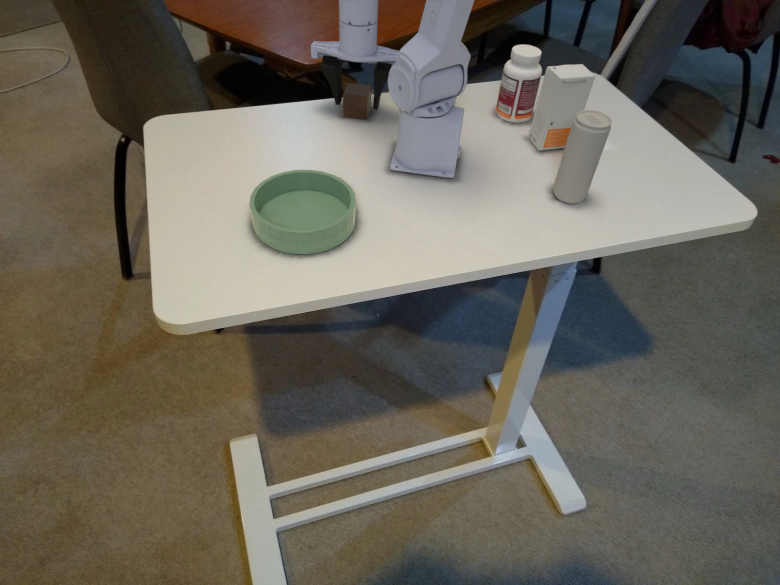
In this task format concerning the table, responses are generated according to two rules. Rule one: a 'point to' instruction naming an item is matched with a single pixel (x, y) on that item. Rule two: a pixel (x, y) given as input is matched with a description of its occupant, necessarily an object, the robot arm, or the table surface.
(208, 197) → the table surface
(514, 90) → the pill bottle
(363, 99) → the block
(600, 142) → the beverage can
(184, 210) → the table surface
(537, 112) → the cosmetic box
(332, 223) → the bowl
